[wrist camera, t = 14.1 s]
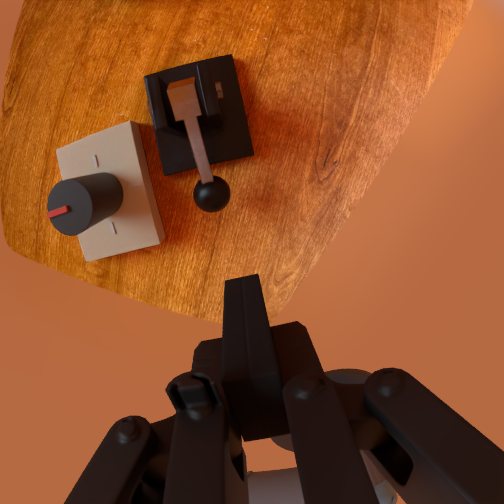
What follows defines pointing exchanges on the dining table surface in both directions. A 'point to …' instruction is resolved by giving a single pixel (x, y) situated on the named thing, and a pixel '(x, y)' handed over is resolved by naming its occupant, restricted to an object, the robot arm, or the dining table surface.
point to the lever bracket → (211, 121)
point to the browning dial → (83, 202)
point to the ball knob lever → (197, 145)
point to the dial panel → (133, 183)
